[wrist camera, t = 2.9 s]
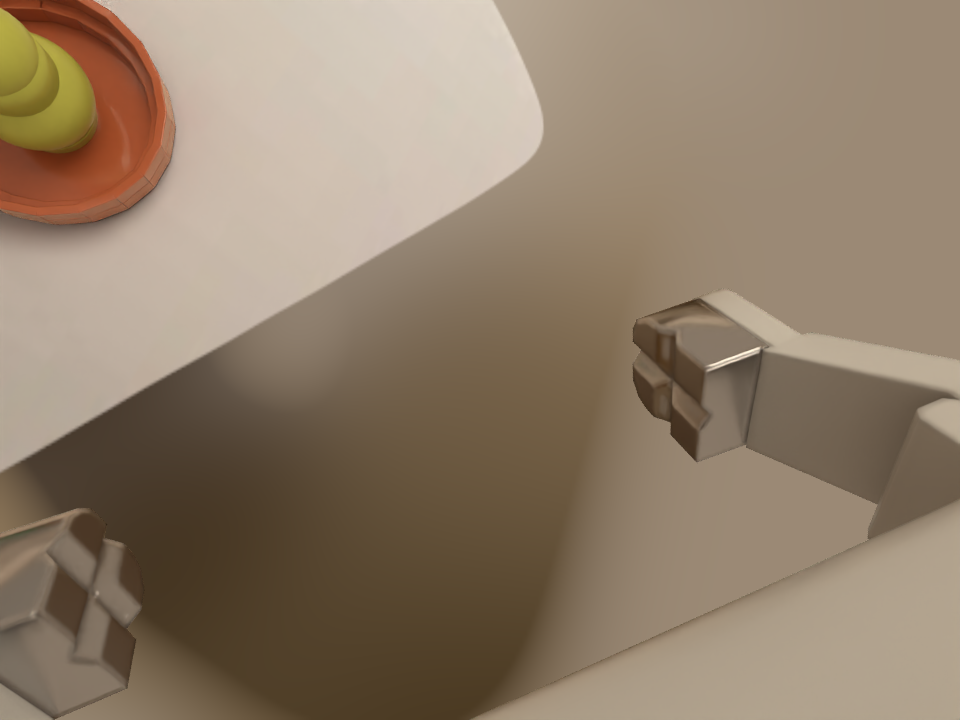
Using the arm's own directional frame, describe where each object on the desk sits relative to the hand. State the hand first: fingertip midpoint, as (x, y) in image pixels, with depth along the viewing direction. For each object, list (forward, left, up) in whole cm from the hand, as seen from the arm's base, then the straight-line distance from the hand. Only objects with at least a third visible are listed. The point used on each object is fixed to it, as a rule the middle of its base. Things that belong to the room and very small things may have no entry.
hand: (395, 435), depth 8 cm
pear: (-17, +12, -33) cm, 39 cm away
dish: (-17, +12, -33) cm, 39 cm away
